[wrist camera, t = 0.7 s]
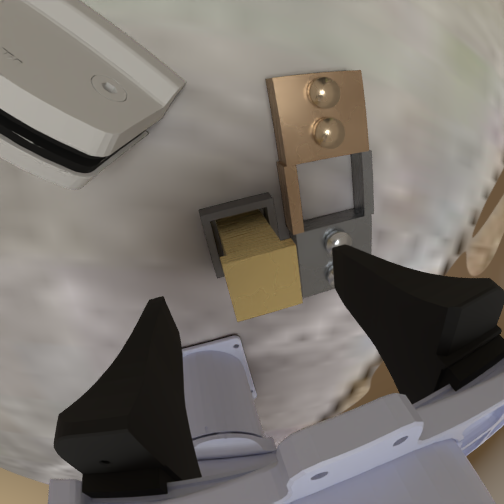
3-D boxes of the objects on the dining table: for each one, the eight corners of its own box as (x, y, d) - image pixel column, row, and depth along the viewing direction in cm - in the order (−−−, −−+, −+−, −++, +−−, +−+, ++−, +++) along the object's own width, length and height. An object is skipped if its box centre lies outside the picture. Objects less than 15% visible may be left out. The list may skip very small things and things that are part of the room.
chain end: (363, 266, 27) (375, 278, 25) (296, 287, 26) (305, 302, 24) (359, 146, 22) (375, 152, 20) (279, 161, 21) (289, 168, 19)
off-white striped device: (191, 86, 17) (135, 154, 10) (145, 137, 20) (79, 230, 12) (22, -37, 10) (-90, -21, 2) (-9, 18, 12) (-114, 59, 4)
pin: (270, 248, 24) (302, 302, 18) (220, 261, 24) (237, 322, 18) (262, 200, 22) (295, 244, 16) (207, 214, 22) (221, 265, 16)
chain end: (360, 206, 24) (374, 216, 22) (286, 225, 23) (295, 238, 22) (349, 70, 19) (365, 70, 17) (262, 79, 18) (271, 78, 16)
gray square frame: (277, 252, 24) (282, 260, 23) (215, 269, 24) (217, 278, 23) (268, 192, 22) (273, 198, 21) (198, 209, 21) (200, 216, 20)
